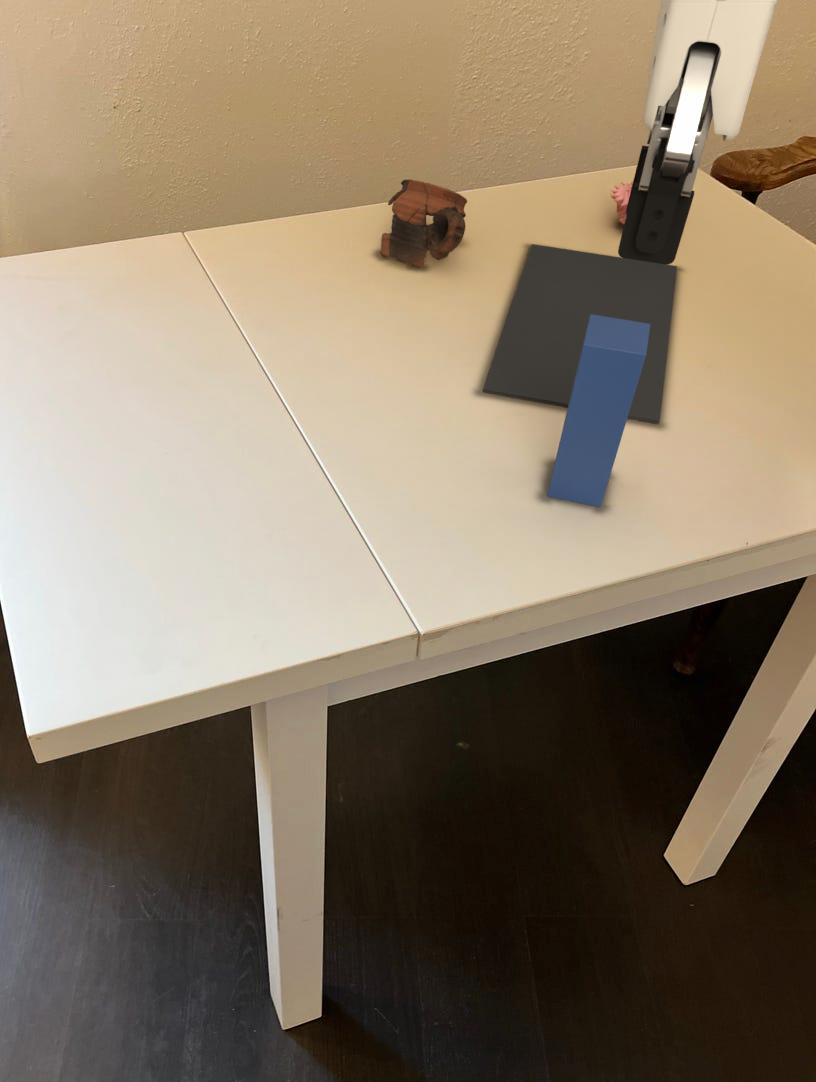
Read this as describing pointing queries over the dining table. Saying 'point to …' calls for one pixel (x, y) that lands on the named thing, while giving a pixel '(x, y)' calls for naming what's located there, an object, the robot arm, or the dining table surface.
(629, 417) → the rubber mat
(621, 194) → the pink coral piece
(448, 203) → the brown broken pot
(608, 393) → the blue post
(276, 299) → the dining table surface
